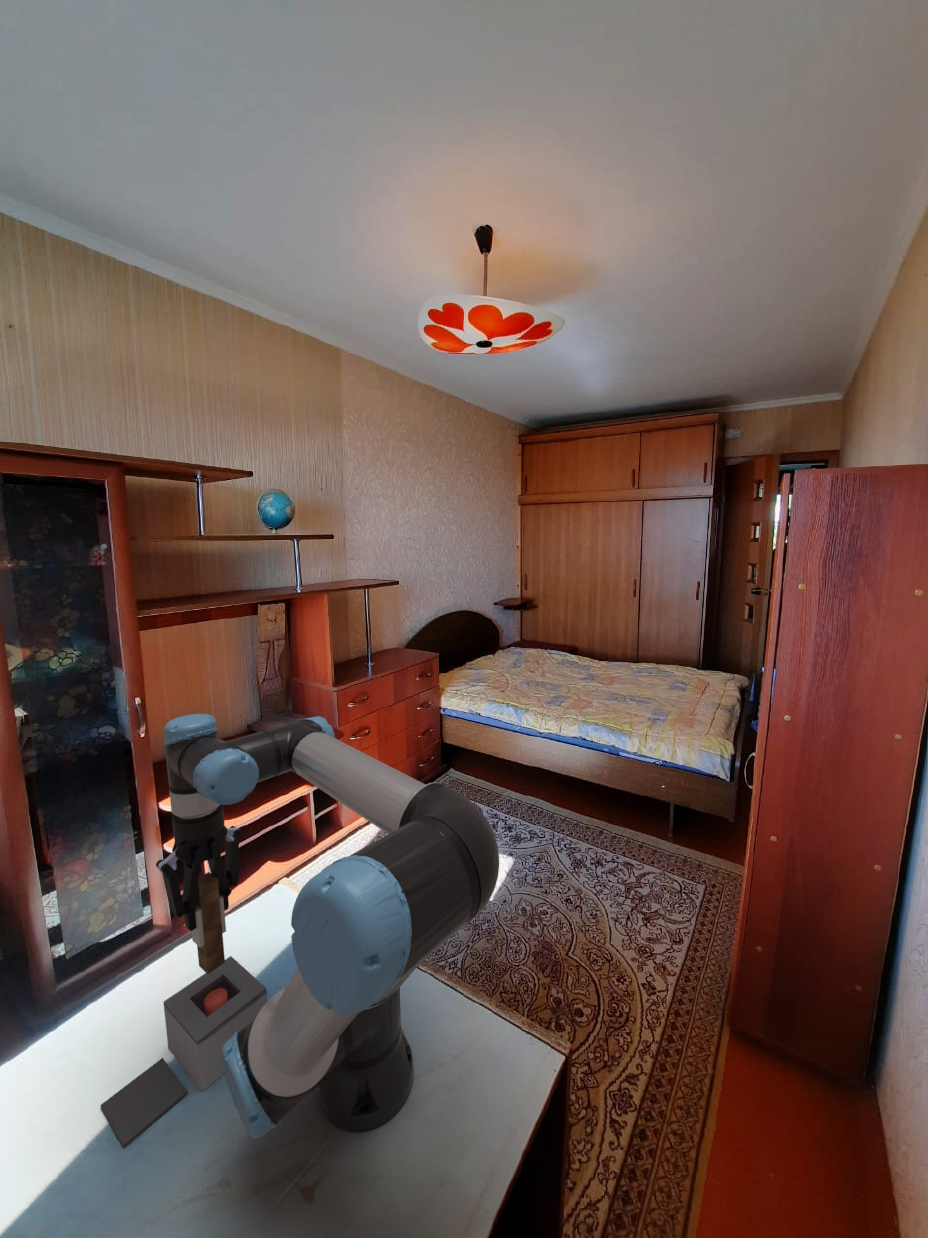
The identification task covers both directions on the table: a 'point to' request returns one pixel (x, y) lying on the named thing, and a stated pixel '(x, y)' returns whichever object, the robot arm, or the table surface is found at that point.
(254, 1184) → the table surface
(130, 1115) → the mat
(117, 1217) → the table surface
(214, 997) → the red ball
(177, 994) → the grey box with opening
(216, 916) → the wooden stick
